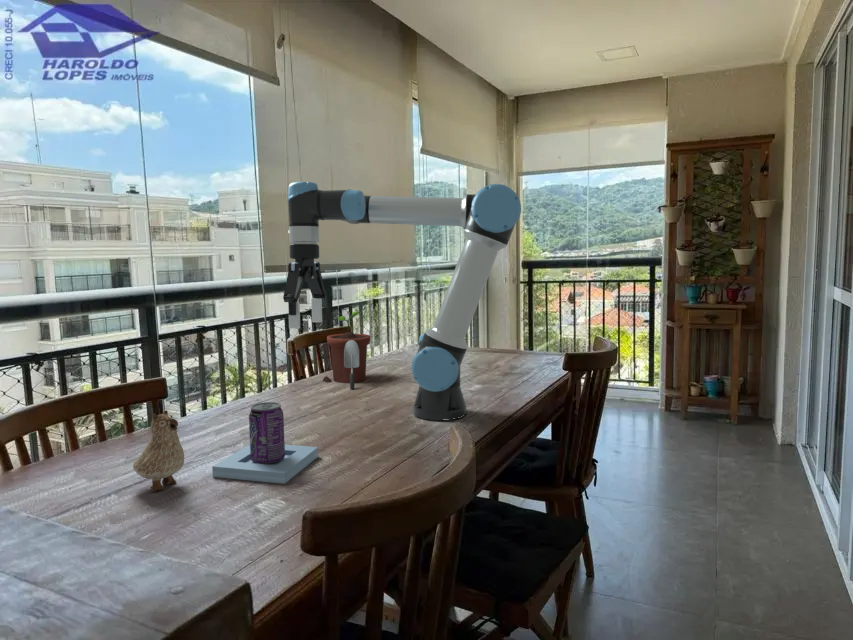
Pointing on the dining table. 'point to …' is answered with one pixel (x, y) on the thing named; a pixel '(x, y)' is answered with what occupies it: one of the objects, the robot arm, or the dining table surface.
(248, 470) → the baseplate
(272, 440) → the beverage can
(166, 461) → the figurine
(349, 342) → the potted plant
